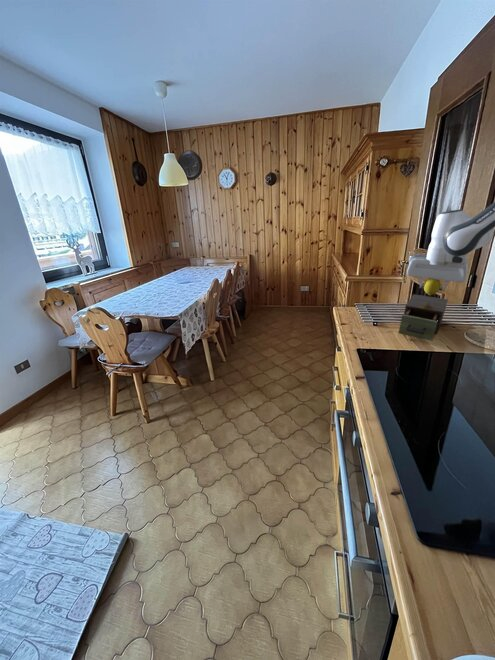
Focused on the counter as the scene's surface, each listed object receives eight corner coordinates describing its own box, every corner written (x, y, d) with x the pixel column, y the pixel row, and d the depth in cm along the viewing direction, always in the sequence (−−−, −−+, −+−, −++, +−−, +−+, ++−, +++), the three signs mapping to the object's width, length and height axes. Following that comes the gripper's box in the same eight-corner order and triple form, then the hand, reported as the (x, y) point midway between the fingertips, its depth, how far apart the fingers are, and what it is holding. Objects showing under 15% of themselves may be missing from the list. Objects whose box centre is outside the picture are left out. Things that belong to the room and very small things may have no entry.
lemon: (433, 292, 119) (438, 274, 115) (440, 297, 114) (445, 278, 110) (419, 293, 119) (424, 274, 116) (425, 298, 115) (430, 279, 111)
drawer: (429, 346, 102) (435, 326, 99) (395, 337, 109) (399, 319, 105) (437, 326, 115) (442, 309, 111) (406, 320, 121) (409, 303, 118)
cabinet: (436, 334, 111) (443, 312, 107) (401, 327, 118) (405, 305, 114) (442, 320, 121) (448, 299, 117) (408, 314, 128) (413, 294, 124)
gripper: (408, 254, 113) (401, 287, 119) (471, 259, 101) (460, 295, 108) (411, 251, 117) (405, 283, 123) (472, 255, 105) (462, 290, 112)
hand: (431, 289), depth 115 cm, fingers closed on lemon, 5 cm apart
